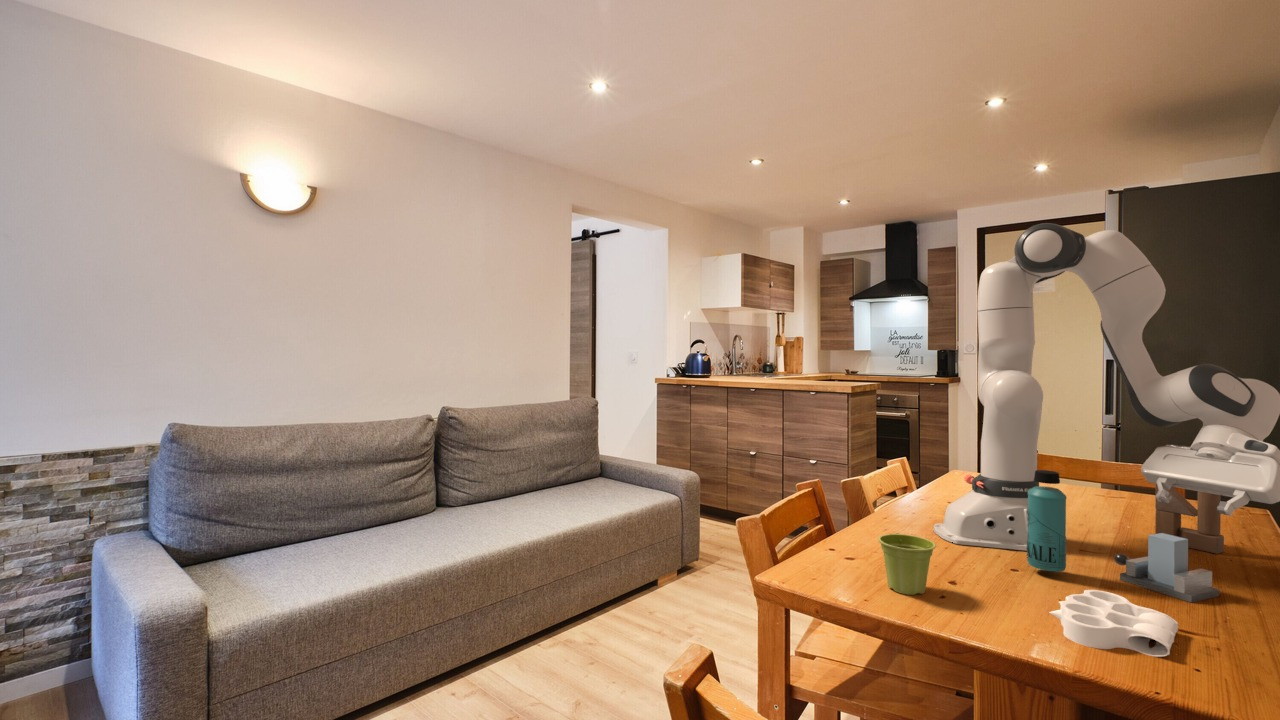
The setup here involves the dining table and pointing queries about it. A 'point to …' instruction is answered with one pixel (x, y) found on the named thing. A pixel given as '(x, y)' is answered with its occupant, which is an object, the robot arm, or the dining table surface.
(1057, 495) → the beverage bottle
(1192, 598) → the vise
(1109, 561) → the dining table surface
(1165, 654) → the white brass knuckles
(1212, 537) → the brown wooden angled piece
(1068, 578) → the dining table surface
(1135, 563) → the free jaw
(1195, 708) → the dining table surface
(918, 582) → the plant pot
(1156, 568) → the steel block
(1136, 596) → the dining table surface
